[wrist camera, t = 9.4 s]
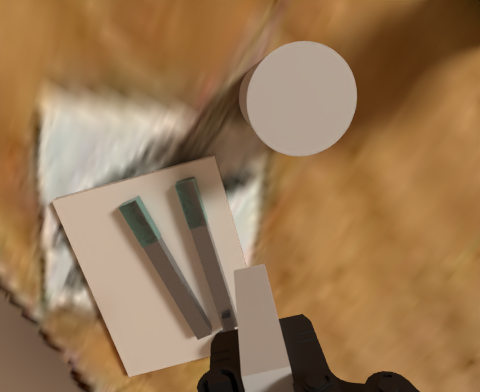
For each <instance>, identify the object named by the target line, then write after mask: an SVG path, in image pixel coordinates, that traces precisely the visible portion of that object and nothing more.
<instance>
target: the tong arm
mask: <svg viewBox="0 0 480 392" xmlns="http://www.w3.org/2000/svg"><path fill="white" fill-rule="evenodd" d="M119 210H120V212H121V213H122V215H123V217H124V218H125V220H126V222H127V223H128V225H129V227H130V228H131V230H132V232H133V233H134V235H135V237H136V239H137V240H138V242H139V244H140V245H141V247H142V248H143V249H144V250H145V252H146V254H147V255H148V257H149V259H150V260H151V262H152V264H153V265H154V267H155V269H156V270H157V272H158V274H159V275H160V277H161V279H162V281H163V282H164V284H165V286H166V287H167V289H168V291H169V292H170V294H171V296H172V297H173V299H174V301H175V302H176V304H177V306H178V308H179V309H180V311H181V313H182V314H183V316H184V318H185V319H186V321H187V323H188V324H189V326H190V328H191V329H192V331H193V333H194V335H195V336H196V338H197V340H199V339H202V338H204V337H206V336H209V335H211V334H212V325H211V323H210V321H209V319H208V318H207V316H206V314H205V312H204V310H203V309H202V307H201V305H200V303H199V302H198V300H197V298H196V296H195V295H194V293H193V291H192V289H191V288H190V286H189V284H188V282H187V281H186V279H185V277H184V275H183V274H182V272H181V270H180V268H179V267H178V265H177V263H176V261H175V260H174V258H173V256H172V254H171V253H170V251H169V249H168V247H167V246H166V244H165V242H164V240H163V239H162V237H161V233H160V232H159V230H158V228H157V226H156V225H155V223H154V221H153V219H152V218H151V216H150V214H149V212H148V211H147V209H146V207H145V205H144V203H143V202H142V200H141V198H140V196H137V197H135V198H133V199H130V200H128V201H126V202H124V203H122V204H121V205H120V207H119Z"/></svg>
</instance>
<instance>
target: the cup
mask: <svg viewBox="0 0 480 392" xmlns="http://www.w3.org/2000/svg"><path fill="white" fill-rule="evenodd" d="M356 103H357V89H356V83H355V79H354V76H353V74H352V71H351V69H350V67H349V66H348V64H347V63H346V61H345V60H344V59H343V58H342V57H341V56H340V55H339V54H338V53H337V52H336V51H334V50H333V49H331V48H329V47H327V46H325V45H323V44H320V43H316V42H310V41H299V42H293V43H289V44H286V45H283V46H281V47H279V48H277V49H276V50H274V51H273V52H271V53H270V54H269V55H267V56H266V57H265V58H263V59H262V60H261V61H259V62H258V63H257V64H255V65H254V66H253V67H252V68H251V69H250V70H249V71H248V72H247V74H246V75H245V77H244V79H243V81H242V83H241V86H240V90H239V105H240V110H241V113H242V115H243V117H244V119H245V120H246V122H247V123H248V124H249V125H250V127H251V128H252V129H253V130H254V132H255V133H256V134H257V135H258V137H259V138H260V139H261V140H262V141H263V142H264V143H265V144H266V145H268V146H269V147H270V148H272V149H274V150H275V151H277V152H280V153H282V154H286V155H290V156H308V155H312V154H316V153H319V152H321V151H323V150H325V149H327V148H329V147H330V146H332V145H333V144H334V143H335V142H337V141H338V140H339V139H340V138H341V137H342V135H343V134H344V133H345V132H346V130H347V129H348V127H349V125H350V123H351V121H352V119H353V116H354V113H355V109H356Z"/></svg>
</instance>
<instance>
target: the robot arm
mask: <svg viewBox="0 0 480 392" xmlns="http://www.w3.org/2000/svg"><path fill="white" fill-rule="evenodd" d="M234 282H235V296H236V310H237V324H238V329H235V330H230V331H226V332H221V333H216V335H215V337H214V338H213V340H212V342H211V349H210V354H211V355H210V370H209V371H208V372H207V373H205V374H204V375H203V376H202V377H201V379H200V380H199V382H198V386H197V389H198V392H419V391H418V390H417V389H416V388H415V387H414V386H413V385H412V384H411V383H410V382H409V381H408V380H407V379H406V378H404V377H403V376H401V375H399V374H396V373H394V372H386V371H382V372H378V373H374V374H373V375H371V376H370V377H368V379H367V381H366V383H365V384H361V383H351V382H346V381H343V380H341V379H339V378H337V377H336V376H335V375H334V374H333V373H332V372H331V371H330V369H329V367H328V364H327V362H326V359H325V357H324V354H323V352H322V349H321V346H320V344H319V341H318V339H317V336H316V333H315V331H314V328H313V326H312V323H311V321H310V320H309V319H308V318H307V317H305V316H304V315H303V314H300V315H296V316H291V317H286V318H282V319H278V315H277V311H276V307H275V303H274V299H273V295H272V291H271V287H270V283H269V279H268V275H267V271H266V267H265V264H261V265H257V266H252V267H247V268H243V269H238V270H234Z"/></svg>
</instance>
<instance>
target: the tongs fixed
mask: <svg viewBox="0 0 480 392" xmlns="http://www.w3.org/2000/svg"><path fill="white" fill-rule="evenodd" d="M175 188H176V191H177V194H178V197H179V200H180V203H181V206H182V210H183V213H184V216H185V219H186V222H187V225H188V228H189V230H190V231H191V234H192V237H193V240H194V243H195V246H196V249H197V252H198V255H199V258H200V261H201V264H202V267H203V270H204V273H205V276H206V279H207V282H208V285H209V288H210V291H211V295H212V298H213V301H214V304H215V307H216V310H217V313H218V316H219V319H220V322H221V325H222V328H223V330H221V331H219V332H218V333H221V332H226V331H230V330H235V327H238V324H237V313H236V310H235V307H234V304H233V300H232V297H231V294H230V291H229V288H228V284H227V281H226V278H225V275H224V271H223V268H222V265H221V262H220V259H219V255H218V252H217V249H216V246H215V243H214V239H213V236H212V233H211V230H210V227H209V223H208V217H207V214H206V211H205V207H204V204H203V201H202V198H201V195H200V191H199V188H198V185H197V182H196V178H195V176H194V177H190V178H187V179H183V180H179V181H177V182H176V184H175Z"/></svg>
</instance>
